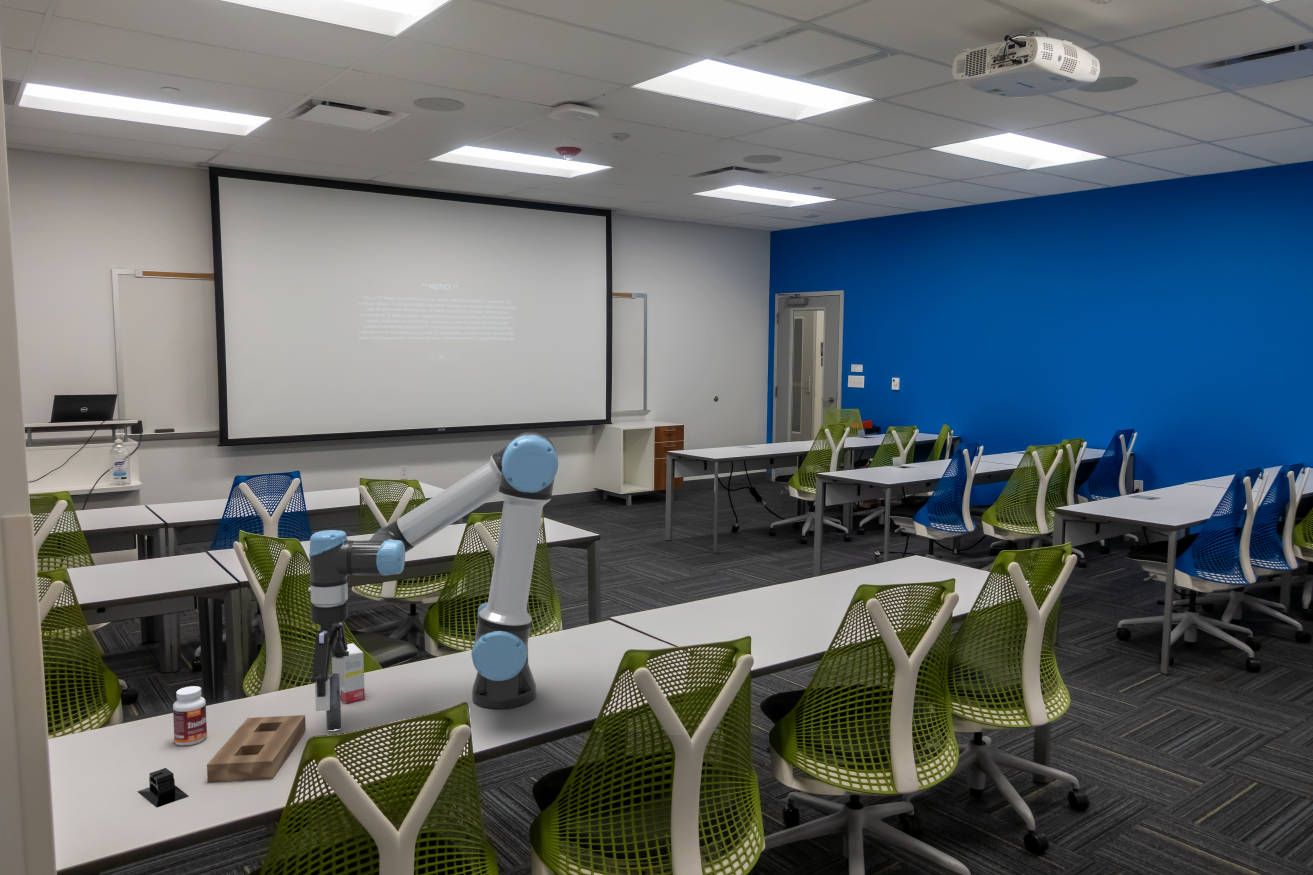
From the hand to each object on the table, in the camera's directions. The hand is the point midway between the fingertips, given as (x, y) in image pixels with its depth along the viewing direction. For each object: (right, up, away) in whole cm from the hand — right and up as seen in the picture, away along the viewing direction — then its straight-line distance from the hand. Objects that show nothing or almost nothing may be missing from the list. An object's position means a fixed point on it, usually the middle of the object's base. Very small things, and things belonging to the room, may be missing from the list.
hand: (331, 697), depth 189 cm
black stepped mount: (-21, -10, -27) cm, 36 cm away
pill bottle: (-28, -8, -5) cm, 30 cm away
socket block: (-10, -8, -12) cm, 18 cm away
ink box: (-3, -6, +19) cm, 20 cm away
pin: (0, -7, +1) cm, 7 cm away
